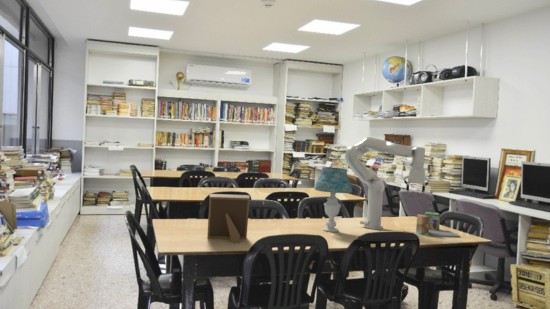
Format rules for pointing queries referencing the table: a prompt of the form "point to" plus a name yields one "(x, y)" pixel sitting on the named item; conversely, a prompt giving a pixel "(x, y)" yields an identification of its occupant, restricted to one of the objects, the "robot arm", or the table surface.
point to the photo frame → (228, 216)
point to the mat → (442, 233)
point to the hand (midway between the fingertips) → (415, 191)
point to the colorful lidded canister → (433, 220)
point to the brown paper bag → (422, 224)
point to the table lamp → (333, 192)
